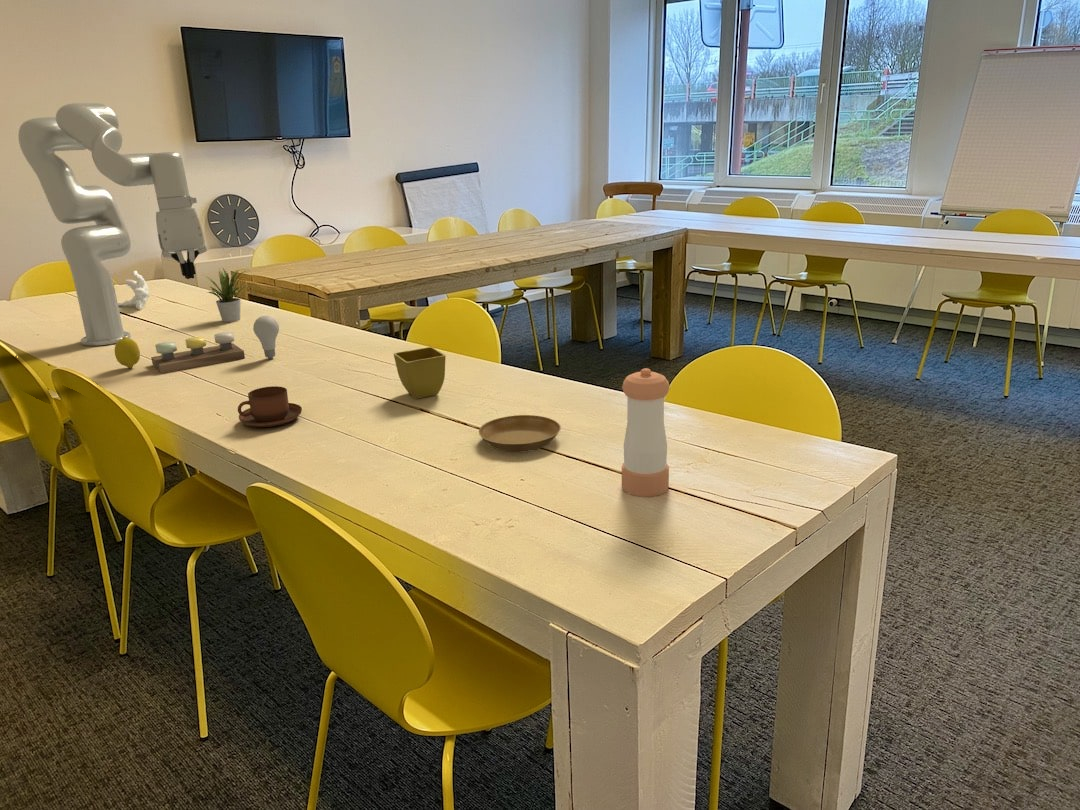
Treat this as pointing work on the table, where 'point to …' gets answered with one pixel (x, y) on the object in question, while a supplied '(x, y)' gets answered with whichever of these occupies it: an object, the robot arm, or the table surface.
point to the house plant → (227, 297)
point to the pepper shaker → (645, 435)
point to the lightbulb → (267, 334)
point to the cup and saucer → (268, 408)
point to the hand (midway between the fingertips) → (189, 278)
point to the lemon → (127, 352)
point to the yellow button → (196, 345)
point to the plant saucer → (519, 432)
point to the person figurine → (137, 292)
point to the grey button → (224, 340)
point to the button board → (197, 358)
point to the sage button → (166, 350)
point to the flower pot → (421, 371)
